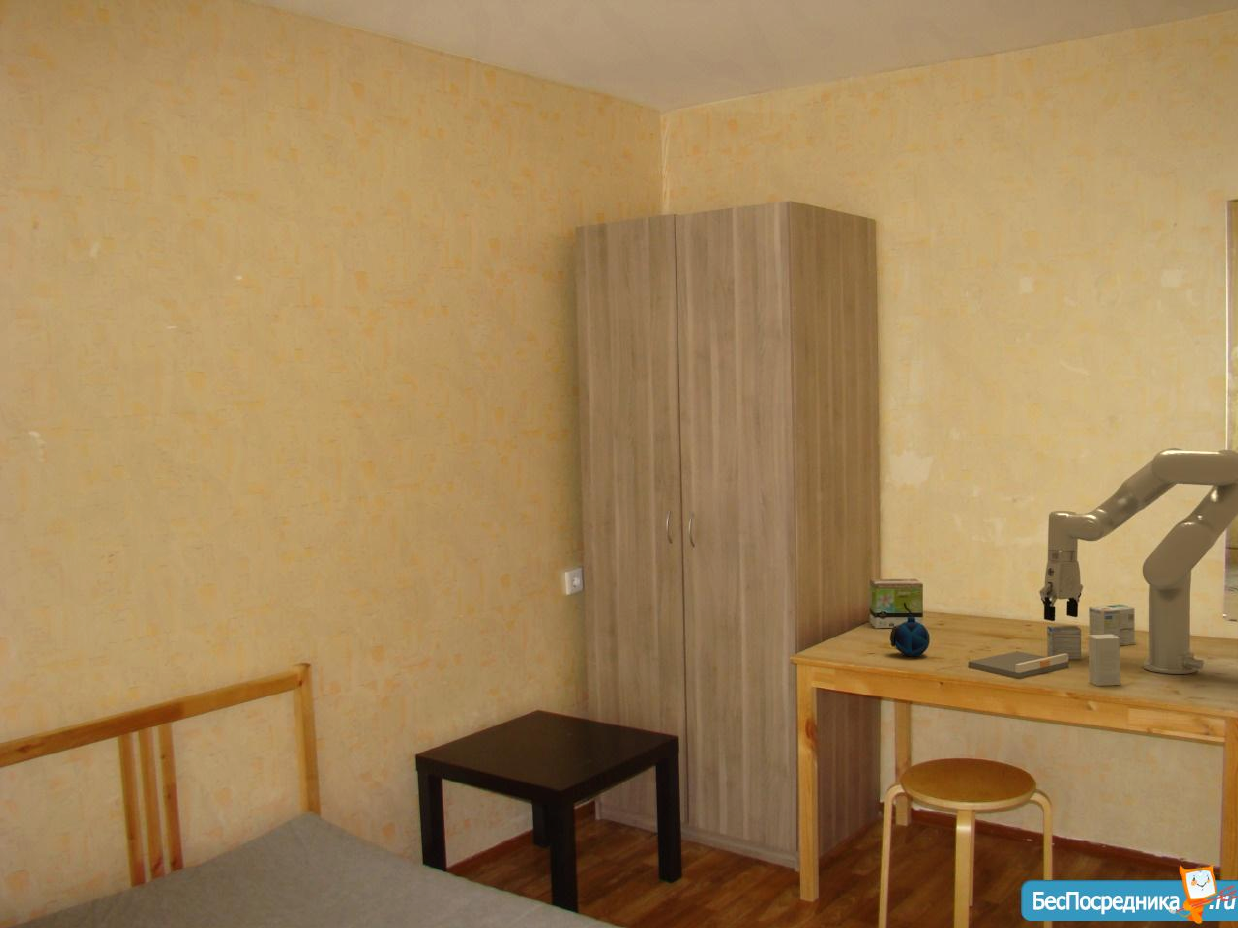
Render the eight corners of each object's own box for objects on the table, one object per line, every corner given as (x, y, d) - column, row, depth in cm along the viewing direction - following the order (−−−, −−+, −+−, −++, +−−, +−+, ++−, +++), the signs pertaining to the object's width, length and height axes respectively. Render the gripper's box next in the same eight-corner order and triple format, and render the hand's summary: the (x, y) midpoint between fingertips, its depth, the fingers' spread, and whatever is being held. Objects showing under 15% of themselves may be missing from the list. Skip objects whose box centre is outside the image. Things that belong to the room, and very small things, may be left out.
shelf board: (1070, 667, 286) (1070, 654, 286) (1020, 679, 276) (1020, 665, 276) (1017, 656, 301) (1017, 643, 300) (968, 667, 290) (968, 654, 290)
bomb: (890, 651, 311) (889, 599, 311) (929, 652, 308) (928, 600, 308) (889, 659, 302) (888, 605, 301) (930, 660, 299) (929, 606, 298)
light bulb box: (1119, 639, 318) (1119, 603, 317) (1135, 644, 311) (1135, 607, 311) (1088, 642, 315) (1088, 606, 315) (1104, 647, 309) (1104, 610, 308)
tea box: (875, 629, 342) (875, 583, 342) (869, 623, 352) (868, 578, 352) (923, 628, 342) (923, 582, 341) (916, 622, 352) (915, 577, 351)
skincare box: (1112, 681, 271) (1112, 633, 271) (1120, 685, 267) (1120, 637, 267) (1088, 682, 271) (1088, 634, 271) (1096, 686, 267) (1096, 638, 266)
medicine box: (1076, 656, 299) (1076, 625, 299) (1081, 660, 295) (1081, 628, 294) (1047, 656, 300) (1046, 625, 299) (1051, 660, 295) (1051, 628, 295)
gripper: (1054, 560, 288) (1052, 624, 289) (1094, 555, 297) (1092, 617, 298) (1030, 557, 295) (1028, 619, 296) (1070, 552, 304) (1068, 612, 305)
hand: (1060, 618), depth 297 cm, fingers open, 9 cm apart
